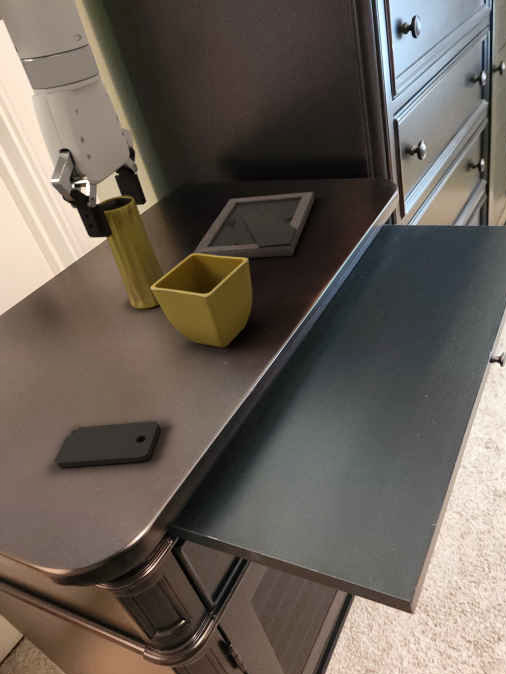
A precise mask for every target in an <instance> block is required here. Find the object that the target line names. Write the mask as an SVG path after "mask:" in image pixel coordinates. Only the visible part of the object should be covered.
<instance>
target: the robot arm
mask: <svg viewBox="0 0 506 674" xmlns="http://www.w3.org/2000/svg"><path fill="white" fill-rule="evenodd" d="M0 21H3V23H4V26H5V29H6V30H7V33H8V36H9V37H10V40H11V43H12V44H13V47H14V49H15V52H16V54H17V56H18V58H19V61H20V63H21V66H22V68H23V70H24V73H25V75H26V78H27V80H28V82H29V84H30V87H31V89H32V92H33V94H32V95H31V99H32V104H33V109H34V113H35V116H36V121H37V123H38V126H39V130H40V133H41V136H42V139H43V142H44V144H45V147H46V150H47V153H48V155H49V157H50V160H51V163H52V165H53V167H54V169H53V173H52V175H51V178H50V184H51V186H52V187H53V188H54V189H55V190H56V191H57V193H58V194H60V196H61V197H62V199H63V201H65V202H66V203H68V204H70V206H71V207H72V209H76V211H77V213H78V215H79V218H80V220H81V222H82V224H83V227H84V229H85V231H86V234H87V236H88V237H89V238H91V239H93V238H95V239H96V238H106V237H110V236H111V235H112V231H111V228H110V226H109V223H108V221H107V218H106V216H105V213H104V211H103V208H102V206H101V204H99V203H97V191H98V190H97V188H98V186H97V185H99V184H101V183H102V182H103V181H105V180H106V179H108V178H109V177H110V176H111V175H113V174H114V173H116V175H114V179H115V182H116V185H117V187H118V190H119V193H120V196H131V197H133V198H134V200H135V203H136V205H137V206H144V205H145V204H146V203H147V199H146V196H145V193H144V190H143V187H142V184H141V181H140V178H139V176H138V171H139V167H138V165H137V163H136V151H135V149H134V141H133V139H134V138H133V133H132V132H131V130H128V129H127V128H124V127H123V126H122V124H121V121H120V119H119V115H118V114H117V111H116V108H115V106H114V104H113V102H112V99H111V97H110V95H109V93H108V90H107V89H106V86H105V84H104V82H103V80H102V77H101V74H100V71H99V68H98V65H97V63H96V59H95V56H94V53H93V51H92V47H91V44H89V42H90V41H89V39H88V36H87V33H86V30H85V27H84V25H83V21H82V19H81V16H80V12H79V10H78V7H77V4H76V1H75V0H0ZM82 188H86V189H85V193H84V192H82Z"/></svg>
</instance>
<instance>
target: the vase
mask: <svg viewBox="0 0 506 674" xmlns="http://www.w3.org/2000/svg"><path fill="white" fill-rule="evenodd" d="M98 204H101V206H102V208H103V211H104V213H105V216H106V218H107V221H108V223H109V226H110V228H111V231H112V235H111V236H110V237H105V238H106V241H107V242H108V246H109V247H110V251H111V253H112V256H113V259H114V261H115V264H116V265H117V266H116V267H117V270H118V272H119V275H120V278H121V280H122V283H123V285H124V288H125V291H126V293H127V296H128V299H129V303H130V306H132V307H133V308H135V309H138V310H148V309H152V308H155V307H158V306H160V304H159V302H158V301H157V299H156V297H155V295H154V294H153V292H152V290H151V288H150V287H151V286H152V285H153V284H154V283H156V282H157V281H158V280H159V279H161V278H162V277H163V276H165V274H164V272H163V270H162V267H161V265H160V262H159V261H158V258H157V256H156V254H155V251H154V248H153V247H152V244H151V241H150V239H149V236H148V233H147V230H146V227H145V224H144V222H143V221H144V220H143V218H142V216H141V213H140V210H139V208H138V205H136V203H135V200H134V198H133V197H131V196H121V195H119V196H114V197H113V196H112V197H111V198H107V199H105V200H103V201H100V202H99V203H98Z"/></svg>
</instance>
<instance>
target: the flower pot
mask: <svg viewBox="0 0 506 674" xmlns="http://www.w3.org/2000/svg"><path fill="white" fill-rule="evenodd" d="M251 277H252V276H251V269H250V260H249V258H242V257H229V256H216V255H209V254H200V253H194V252H193V253H190V254H189V255H187V256H186V257H185V258H184V259H183V260H182V261H180V262H179V263H178V264H177V265H176V266H174V267H173V268H171V270H169V271H168V272H167V273H166V274H164V276H163V277H162V278H161V279H159V280H158V281H157V282H156V283H154V284H153V285H152V286H151V287H150V288H151V290H152V292H153V294H154V295H155V297H156V299H157V301H158V302H159V304H160V305H159V306H160V308H161V310H162V311H163V314H164V315H165V317H166V318H167V319H168V321H169V323H171V325H172V326H173V327H174V328H175V329H176V330H177V332H179V333H180V334H181V335H182V336H184V337H186V338H187V339H188V340H190V341H192V342H193V343H194V344H201V345H206V346H210V347H211V346H212V347H216V348H222V349H223V348H226V347H228V346H229V345H230V343H231V342H232V341H233V340H234V339H235V338H236V337H238V335H239V334H240V333H241V332H242V331H243V330H244V329H245V327H246V325H247V323H248V321H249V318H250V315H251V311H252V305H253V285H252V278H251Z"/></svg>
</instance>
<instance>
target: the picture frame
mask: <svg viewBox="0 0 506 674" xmlns="http://www.w3.org/2000/svg"><path fill="white" fill-rule="evenodd" d="M314 203H315V196H314V191H306V192H305V191H304V192H294V193H283V194H273V195H272V194H271V195H261V196H249V197H239V198H229V199H228V201H227V202H226V204H225V206H223V209H222V210H221V211H220V213H219V215H217V217H216V219H215V220H214V221H213V223H212V224H211V226H210V228H208V230H207V232H206V233H205V235H204V236H203V237H202V238H201V241H200V242H199V244H198V245H197V247H196V248H195V249H194V250H193V253H200V254H209V255H216V256H229V257H242V258H248V259H256V258H272V257H274V258H275V257H288V256H293V255H294V252H295V251H296V247H297V245H298V243H299V240H300V236H301V235H302V232H303V230H304V227H305V224H306V223H307V219H308V217H309V215H310V212H311V210H312V207H313V204H314Z"/></svg>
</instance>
